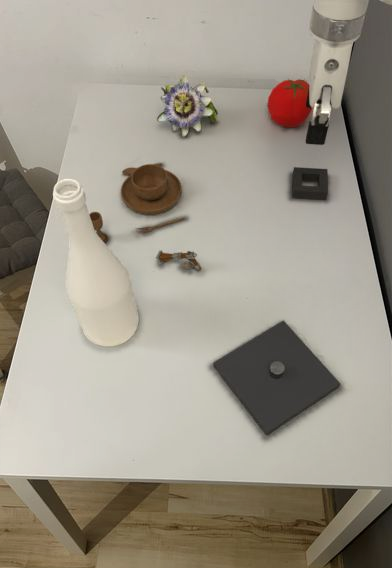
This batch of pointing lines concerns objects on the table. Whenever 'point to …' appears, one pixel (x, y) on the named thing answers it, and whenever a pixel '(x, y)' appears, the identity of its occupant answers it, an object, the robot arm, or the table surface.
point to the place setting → (145, 194)
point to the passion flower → (186, 106)
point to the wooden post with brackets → (180, 258)
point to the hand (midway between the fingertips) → (314, 124)
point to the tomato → (289, 103)
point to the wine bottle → (94, 274)
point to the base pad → (276, 391)
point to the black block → (310, 191)
